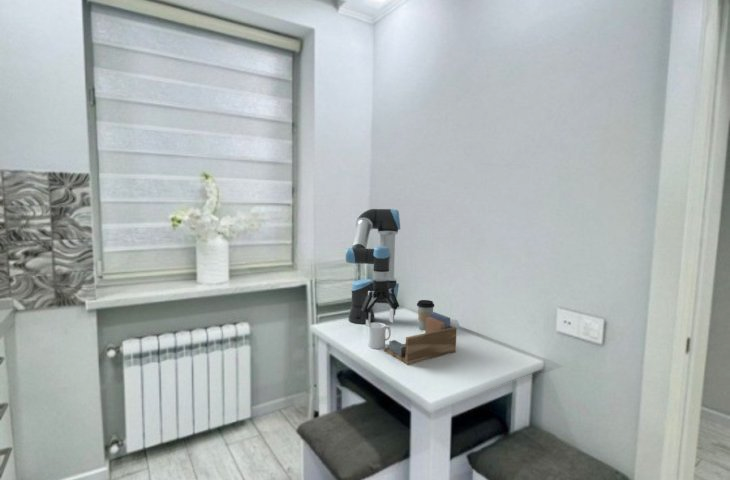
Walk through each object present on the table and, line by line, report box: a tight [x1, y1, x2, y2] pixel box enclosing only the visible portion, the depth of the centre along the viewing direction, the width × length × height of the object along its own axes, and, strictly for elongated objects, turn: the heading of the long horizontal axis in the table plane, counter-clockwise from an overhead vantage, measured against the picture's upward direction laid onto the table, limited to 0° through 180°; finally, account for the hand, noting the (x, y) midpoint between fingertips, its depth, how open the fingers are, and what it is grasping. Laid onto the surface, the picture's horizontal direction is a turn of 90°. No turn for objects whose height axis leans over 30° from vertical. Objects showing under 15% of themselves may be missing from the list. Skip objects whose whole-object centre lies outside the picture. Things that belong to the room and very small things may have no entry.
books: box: [424, 311, 451, 333], centre depth 183 cm, size 11×6×14 cm, turn 32°
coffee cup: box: [416, 299, 435, 331], centre depth 210 cm, size 9×9×15 cm
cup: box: [367, 322, 392, 350], centre depth 185 cm, size 8×12×10 cm
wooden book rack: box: [383, 324, 457, 366], centre depth 178 cm, size 17×28×12 cm, turn 122°
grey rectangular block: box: [388, 339, 406, 357], centre depth 173 cm, size 9×3×4 cm, turn 32°
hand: (380, 324), depth 184 cm, fingers open, 13 cm apart
